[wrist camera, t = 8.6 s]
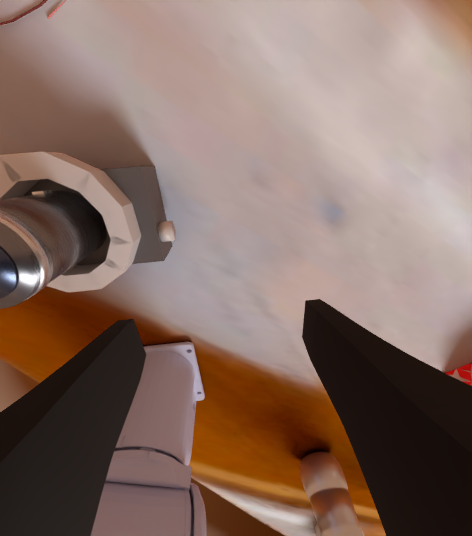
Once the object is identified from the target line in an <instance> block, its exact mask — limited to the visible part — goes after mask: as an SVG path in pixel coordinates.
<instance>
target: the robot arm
mask: <svg viewBox="0 0 472 536" xmlns="http://www.w3.org/2000/svg"><path fill="white" fill-rule="evenodd" d="M302 338H303V340H304V343H305V346H306V349H307V352H308V354H309V357H310V360H311V362H312V364H313V366H314V368H315V370H316V372H317V374H318V376H319V378H320V380H321V382H322V384H323V386H324V388H325V390H326V391H327V393H328V395H329V397H330V399H331V401H332V403H333V405H334V407H335V409H336V411H337V413H338V415H339V417H340V419H341V422H342V424H343V426H344V428H345V430H346V433H347V435H348V437H349V440H350V442H351V445H352V447H353V450H354V452H355V455H356V457H357V460H358V462H359V465H360V467H361V470H362V472H363V475H364V477H365V480H366V483H367V485H368V488H369V490H370V493H371V495H372V498H373V501H374V503H375V506H376V509H377V511H378V514H379V517H380V519H381V522H382V525H383V528H384V530H385V533H386V536H472V386H471V385H469V384H466V383H464V382H462V381H460V380H458V379H456V378H454V377H452V376H450V375H448V374H445V373H443V372H441V371H440V370H438V369H436V368H434V367H432V366H430V365H428V364H426V363H424V362H422V361H420V360H418V359H416V358H414V357H412V356H411V355H409V354H407V353H405V352H403V351H402V350H400V349H398V348H396V347H395V346H393V345H391V344H390V343H388V342H386V341H384V340H383V339H381V338H379V337H378V336H376V335H374V334H373V333H371V332H370V331H368V330H366V329H365V328H363V327H362V326H360V325H359V324H357V323H355V322H354V321H352V320H351V319H349V318H348V317H346V316H345V315H343V314H342V313H340V312H339V311H337V310H336V309H334V308H333V307H331V306H330V305H328V304H327V303H325V302H324V301H322V300H320V299H317V300H308V301H306V302H305V313H304V324H303V335H302ZM188 349H190V350H188ZM204 398H205V394H204V389H203V385H202V380H201V376H200V372H199V367H198V363H197V358H196V354H195V349H194V345H193V343H192V342H181V343H172V344H163V345H154V346H145V347H143V344H142V341H141V339H140V336H139V333H138V331H137V328H136V325H135V322H134V320H133V319H129V320H120V321H117V322H116V323H114V324H113V325H112V326H110V327H109V328H108V329H107V330H105V331H104V332H103V333H102V334H101V335H99V336H98V337H97V338H96V339H95V340H93V341H92V342H91V343H90V344H89V345H87V346H86V347H85V348H84V349H82V350H81V351H80V352H79V353H78V354H76V355H75V356H74V357H73V358H72V359H70V360H69V361H68V362H67V363H65V364H64V365H63V366H62V367H60V368H59V369H58V370H56V371H55V372H54V373H53V374H51V375H50V376H49V377H47V378H46V379H45V380H44V381H42V382H41V383H40V384H39V385H37V386H36V387H35V388H33V389H32V390H31V391H29V392H28V393H27V394H25V395H24V396H23V397H21V398H20V399H19V400H17V401H16V402H14V403H13V404H12V405H10V406H9V407H7V408H6V409H5V410H3V411H2V412H0V536H206V513H205V506H204V502H203V499H202V497H201V494H200V491H199V488H198V486H197V485H196V484H193V483H190V482H191V471H192V467H191V466H188V465H189V463H190V459H191V453H192V442H193V431H194V421H195V410H196V401H200V400H203V399H204Z"/></svg>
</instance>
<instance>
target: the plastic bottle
mask: <svg viewBox="0 0 472 536" xmlns="http://www.w3.org/2000/svg"><path fill="white" fill-rule="evenodd" d="M300 476H301V481H302V484H303V486H304V489H305V492H306V494H307V496H308V498H309V500H310V503H311V506H312V509H313V512H314V515H315V518H316V521H317V524H318V527H319V530H320V533H321V536H364V533H363V531H362V529H361V526H360V524H359V521H358V518H357V515H356V512H355V510H354V507H353V504H352V501H351V498H350V495H349V492H348V487H347V483H346V480H345V476H344V473H343V470H342V468H341V466H340V464H339V463H338V461H337V459H336V458H335V457H334V456H333V455H332V454H331V453H329V452H315V453H311V454H309V455H307V456H305V457H304V458H302V460H301V462H300Z"/></svg>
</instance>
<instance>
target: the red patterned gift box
mask: <svg viewBox="0 0 472 536" xmlns="http://www.w3.org/2000/svg"><path fill="white" fill-rule="evenodd" d="M445 374H448V375H450V376H452V377H454V378H456V379H458V380H460V381H462V382H464V383H466V384H469V385H471V386H472V363H470V364H468V365H465V366H462V367H460V368H457V369H455V370H452V371H450V372H447V373H445Z"/></svg>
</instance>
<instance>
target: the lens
mask: <svg viewBox="0 0 472 536" xmlns="http://www.w3.org/2000/svg"><path fill="white" fill-rule="evenodd" d="M32 194H33V195H29V196H23V197H17V198H11V199H4V200H0V308H7V307H11V306H15V305H17V304H19V303H21V302H23V301H25V300H27V299H29V298H30V297H32V296H33V295H35V294H36V293H38V292H39V291H40V290H42V289H43V288H44V287H45V286H47V284H48V283H50V282H51V281H53V280H54V279H56V278H57V277H58V276H60V275H61V274H63V273H64V272H66V271H67V270H68V269H70V268H71V267H73V266H74V265H76V264H77V263H78V262H80V261H81V260H83V259H84V258H86V257H87V256H89V255H90V254H91V253H93V252H94V251H96V250H97V249H99V248H100V247H101V246H102V244H103V243H104V241H105V238H106V225H105V222H104V219H103V217H102V215H101V213H100V212H99V211H98V210H97V209H96V208H95V207H94V206H93V205H92V204H91V203H90V202H89V201H88V200H87V199H86V198H84V197H82V196H80V195H78V194H75V193H73V192H68V191H54V192H52V190H44V191H36V192H32Z"/></svg>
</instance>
